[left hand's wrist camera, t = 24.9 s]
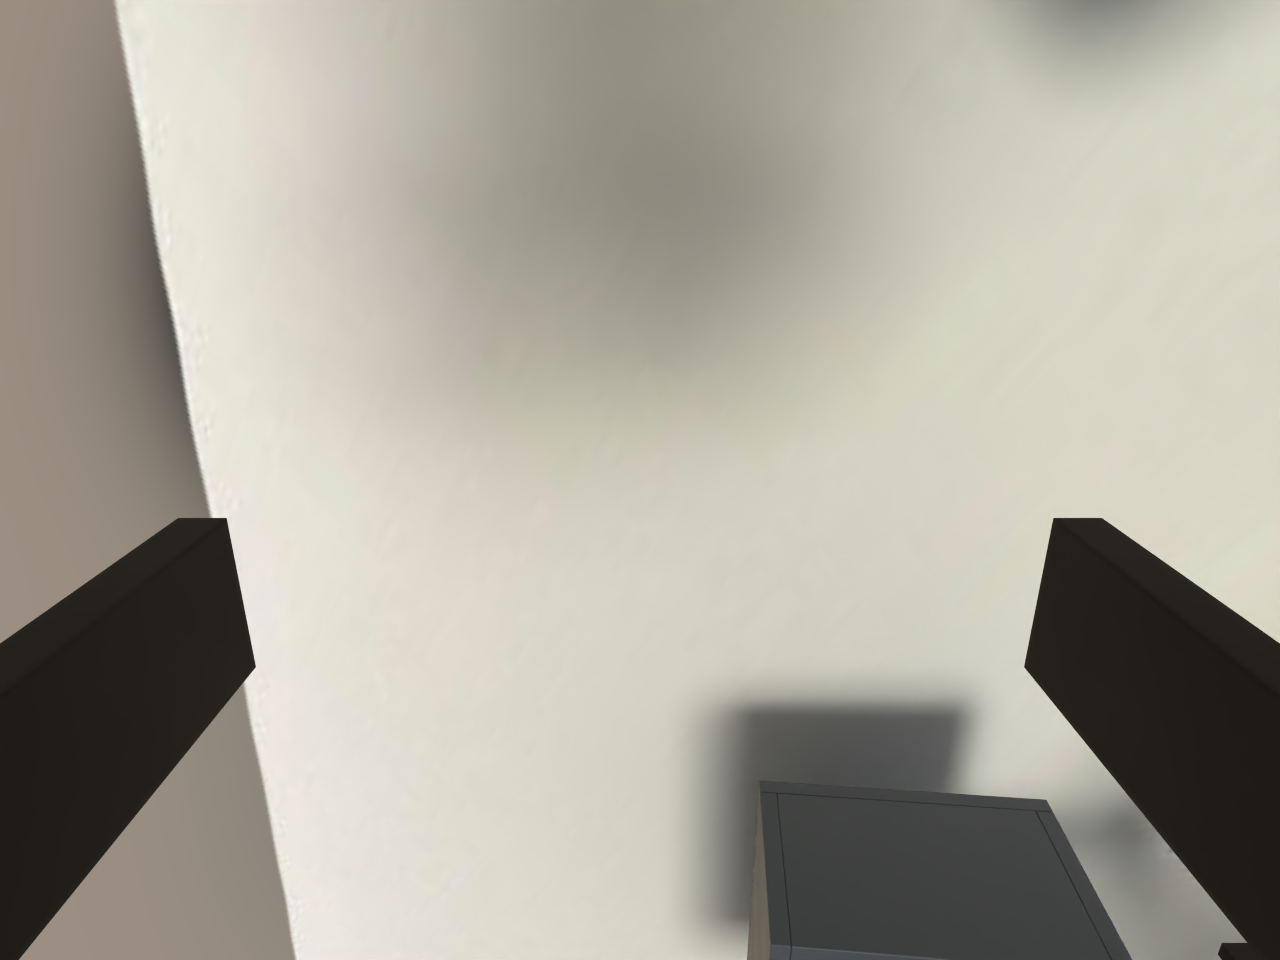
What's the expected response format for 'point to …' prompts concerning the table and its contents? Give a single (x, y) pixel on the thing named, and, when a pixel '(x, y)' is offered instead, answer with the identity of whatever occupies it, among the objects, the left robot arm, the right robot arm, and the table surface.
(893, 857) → the tote
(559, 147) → the table surface
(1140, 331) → the table surface
